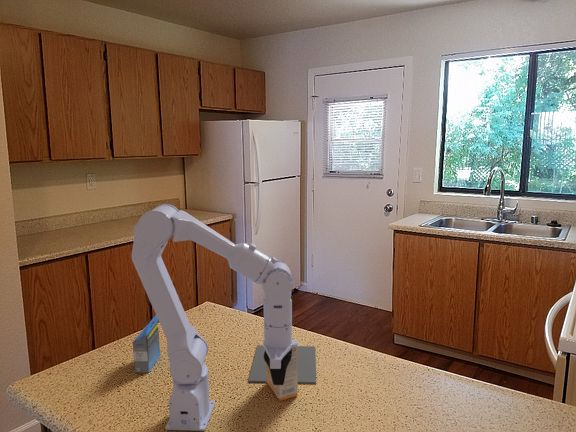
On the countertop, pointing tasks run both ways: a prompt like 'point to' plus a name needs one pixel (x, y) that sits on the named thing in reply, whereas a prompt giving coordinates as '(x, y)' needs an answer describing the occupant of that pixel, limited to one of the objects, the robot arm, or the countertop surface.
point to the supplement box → (286, 379)
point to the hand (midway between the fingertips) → (278, 383)
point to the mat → (304, 365)
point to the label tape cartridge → (146, 347)
